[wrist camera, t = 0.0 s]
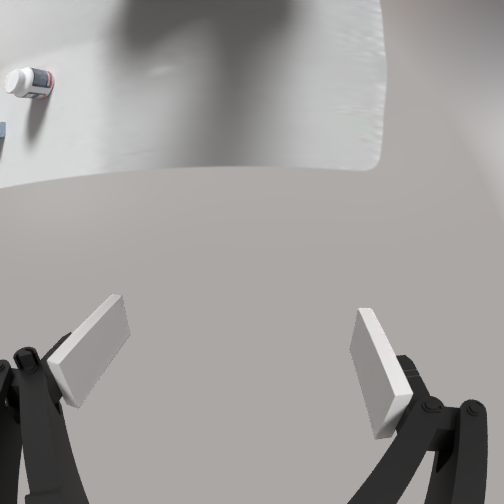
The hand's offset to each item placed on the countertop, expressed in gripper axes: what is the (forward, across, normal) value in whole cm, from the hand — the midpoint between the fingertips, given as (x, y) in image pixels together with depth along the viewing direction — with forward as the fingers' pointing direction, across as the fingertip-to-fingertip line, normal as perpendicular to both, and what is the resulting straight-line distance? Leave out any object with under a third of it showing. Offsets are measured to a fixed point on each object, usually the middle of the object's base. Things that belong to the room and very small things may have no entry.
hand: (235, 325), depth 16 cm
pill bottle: (+28, -38, +24) cm, 53 cm away
